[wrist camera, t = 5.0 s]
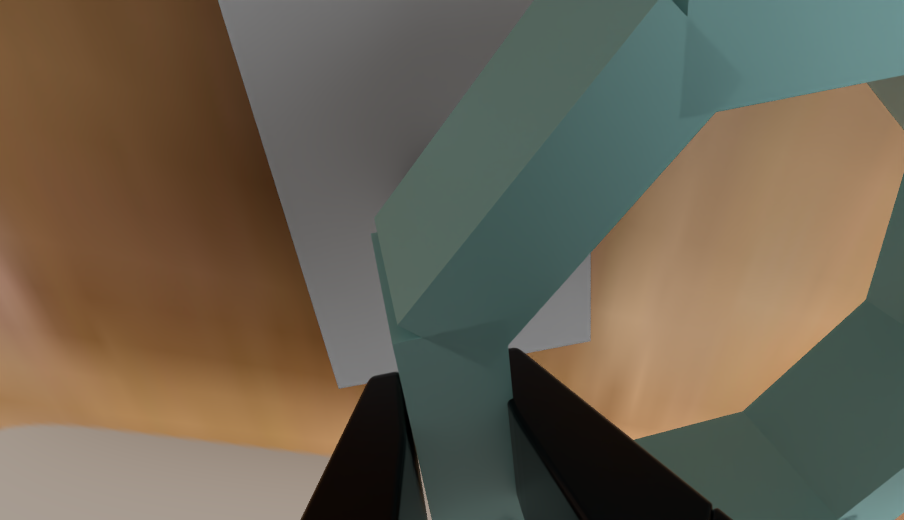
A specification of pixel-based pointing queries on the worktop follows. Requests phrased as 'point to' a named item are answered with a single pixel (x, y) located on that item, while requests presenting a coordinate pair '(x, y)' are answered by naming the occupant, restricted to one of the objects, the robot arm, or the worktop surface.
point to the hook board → (368, 144)
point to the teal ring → (599, 209)
